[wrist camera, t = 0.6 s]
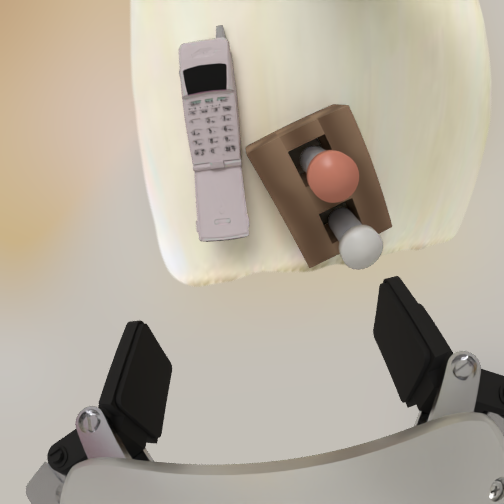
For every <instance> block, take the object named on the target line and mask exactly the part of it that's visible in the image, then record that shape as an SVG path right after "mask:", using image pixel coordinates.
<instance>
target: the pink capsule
mask: <svg viewBox="0 0 504 504" xmlns="http://www.w3.org/2000/svg"><path fill="white" fill-rule="evenodd" d="M300 165H301V167H302V169H303V170H304V171H305V172H306V173H307V182H308V184H309V186H310V188H311V189H312V191H313V192H314V193H315V195H316V196H317V197H318V198H320V199H321V200H323V201H325V202H329V203H337V202H341V201H344V200H346V199H347V198H349V197H350V196H351V195H352V194H353V193H354V191H355V190H356V188H357V186H358V182H359V170H358V167H357V165H356V164H355V162H354V161H353V160H352V159H351V158H350V157H349V156H347V155H345V154H344V153H342V152H340V151H336V150H325V149H323V148H321V147H319V146H309V147H307V148H306V149H304V150H303V152H302V153H301V155H300Z"/></svg>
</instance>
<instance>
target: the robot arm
mask: <svg viewBox="0 0 504 504" xmlns="http://www.w3.org/2000/svg"><path fill="white" fill-rule="evenodd" d="M373 333H374V338H375V340H376V342H377V344H378V347H379V349H380V351H381V353H382V356H383V358H384V360H385V362H386V365H387V367H388V370H389V372H390V374H391V377H392V379H393V382H394V384H395V387H396V389H397V392H398V394H399V397H400V399H401V401H402V402H406V404H407V407H411V406H413V405H416V404H417V407H418V409H419V411H420V412H419V415H418V417H417V420H416V422H415V425H414V427H412V428H409V429H407V430H404V431H401V432H398V433H395V434H392V435H389V436H386V437H383V438H380V439H377V440H374V441H371V442H367V443H364V444H360V445H356V446H353V447H349V448H345V449H341V450H336V451H332V452H328V453H323V454H318V455H312V456H307V457H301V458H294V459H288V460H280V461H271V462H262V463H249V464H231V465H230V464H228V465H227V464H226V465H197V464H176V463H163V462H154V460H153V459H152V457H151V456H150V454H149V453H148V451H147V450H146V448H145V446H146V442H147V443H157V439H158V438H159V437H160V436H161V433H162V426H163V420H164V414H165V407H166V401H167V396H168V390H169V384H170V378H171V373H172V365H171V362H170V361H169V359H168V358H167V356H166V355H165V353H164V351H163V350H162V348H161V347H160V345H159V343H158V342H157V340H156V338H155V337H154V335H153V333H152V332H151V330H150V328H149V327H148V325H147V324H144V323H143V322H142V321H133V322H128V323H127V325H126V328H125V330H124V333H123V335H122V338H121V340H120V343H119V345H118V348H117V351H116V353H115V356H114V359H113V362H112V364H111V367H110V370H109V373H108V376H107V379H106V382H105V385H104V388H103V391H102V394H101V397H100V400H99V407H98V408H97V407H95V406H89V407H86V408H84V409H83V410H82V411H81V412H80V413H79V414H78V416H77V419H76V424H75V425H76V429H75V430H74V431H72V432H71V433H69V434H68V435H67V436H65V437H64V438H62V439H61V440H59V441H58V442H57V443H55V444H54V445H53V446H51V448H50V449H49V452H48V463H47V462H44V464H43V465H42V466H41V467H40V469H39V470H38V471H37V472H36V474H35V475H34V476H33V478H32V479H31V480H30V481H29V483H28V485H27V486H26V494H27V497H28V499H29V500H30V502H31V504H504V376H502V375H499V374H496V373H493V372H489V371H486V370H483V369H481V365H480V362H479V360H478V359H477V358H476V356H475V355H473V354H472V353H469V352H467V351H459V352H456V353H454V354H453V352H452V351H451V349H450V347H449V346H448V344H447V342H446V341H445V339H444V337H443V336H442V334H441V333H440V331H439V329H438V328H437V326H436V325H435V323H434V322H433V320H432V319H431V317H430V316H429V314H428V313H427V311H426V310H425V308H424V307H423V306H422V305H421V304H418V303H417V301H416V300H415V298H414V297H413V296H412V294H411V293H410V291H409V290H408V289H407V287H406V286H405V284H404V283H403V282H402V280H401V279H400V278H399V277H398V276H395V277H391V278H387V279H384V281H383V283H382V284H380V287H379V295H378V303H377V311H376V316H375V323H374V329H373Z"/></svg>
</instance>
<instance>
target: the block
mask: <svg viewBox="0 0 504 504" xmlns="http://www.w3.org/2000/svg"><path fill="white" fill-rule="evenodd" d="M316 138H318V140H319V142H320V144H321V147H322V148H323V149H325V150H336V151H340V152H342V153H344V154H345V155H347V156H349V157H350V158H351V159H352V160H353V161H354V162H355V164H356V165H357V167H358V170H359V182H358V186H357V188H356V190H355V191H354V193H353V194H352V195H351V196H350V197H349V198H347V199H346V200H344V201H341V202H337V203H329V202H325V201H323V200H321V199H320V198H318V197H317V196H316V195H315V193H314V192H313V191H312V189H311V188H310V186H309V184H308V182H307V173H306V172H303V173H301V174H299V173H298V171H297V169H296V167H295V165H294V163H293V161H292V159H291V157H290V156H289V154H288V152H289V151H291V150H293V149H295V148H297V147H299V146H301V145H303V144H305V143H307V142H309V141H311V140H313V139H316ZM246 154H247V156H248V158H249V159H250V161H251V163H252V165H253V166H254V168H255V170H256V171H257V173H258V175H259V177H260V178H261V180H262V182H263V184H264V185H265V187H266V189H267V191H268V192H269V194H270V196H271V198H272V199H273V201H274V203H275V205H276V207H277V208H278V210H279V212H280V214H281V216H282V217H283V219H284V221H285V223H286V225H287V227H288V228H289V230H290V232H291V234H292V236H293V238H294V240H295V241H296V243H297V245H298V247H299V249H300V251H301V253H302V255H303V256H304V258H305V260H306V262H307V264H308V266H309V268H311V267H313V266H315V265H317V264H319V263H321V262H323V261H325V260H328V259H330V258H332V257H334V256H336V255H338V254H340V253H339V241H338V239H337V238H336V236H335V235H334V233H333V231H332V230H331V228H330V227H329V224H328V223H327V224H325V225H323V223H322V221H321V218H320V216H319V214H321V213H323V212H325V211H327V210H329V209H331V208H333V207H335V206H337V205H339V204H341V203H343V202H346V204H347V207H348V209H349V210H350V211H351V212H352V213H353V214H354V215H355V217H356V218H357V219H358V220H359V221H360V222H361V223H362V225H368V226H370V227H372V228H373V229H374V230H375V231H376V232H377V233H378V234H379V233H381V232H383V231H385V230H387V229H389V228H391V227H392V224H391V220H390V217H389V213H388V210H387V206H386V203H385V200H384V196H383V193H382V190H381V187H380V184H379V181H378V178H377V175H376V172H375V169H374V166H373V164H372V161H371V158H370V155H369V153H368V150H367V148H366V145H365V143H364V140H363V138H362V135H361V133H360V130H359V128H358V126H357V123H356V121H355V119H354V116H353V114H352V112H351V110H350V107H349V105H336V104H333V105H331V106H329V107H326V108H324V109H322V110H319V111H317V112H315V113H313V114H311V115H308V116H306V117H304V118H302V119H300V120H298V121H296V122H294V123H291V124H289V125H287V126H285V127H283V128H281V129H279V130H277V131H275V132H273V133H271V134H269V135H267V136H265V137H263V138H262V139H260V140H258V141H256V142H254V143H252V144H250V145H248V146H246Z"/></svg>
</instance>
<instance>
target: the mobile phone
mask: <svg viewBox="0 0 504 504" xmlns="http://www.w3.org/2000/svg"><path fill="white" fill-rule="evenodd" d="M179 63H180V71H179V74H180V78H181V90H182V99H183V108H184V116H185V123H186V128H187V134H188V140H189V146H190V151H191V157H192V162H193V170H194V171H195V190H196V207H197V221H196V227H197V233H198V232H199V240H200V241H206V242H208V241H221V240H231V239H237V238H243V237H246V236H248V235H249V230H248V227H249V217H248V215H247V209H246V201H245V193H244V185H243V177H242V175H241V174H242V169H241V152H240V145H241V141H240V127H239V115H238V104H237V93H236V85H235V78H234V70H233V63H232V55H231V52H230V47H229V42H228V40H227V39H226V37H225V33H224V29H223V25H220V26H216V38H214V39H207V40H201V41H195V42H189V43H184V44H182V45H181V46H180V47H179Z"/></svg>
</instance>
